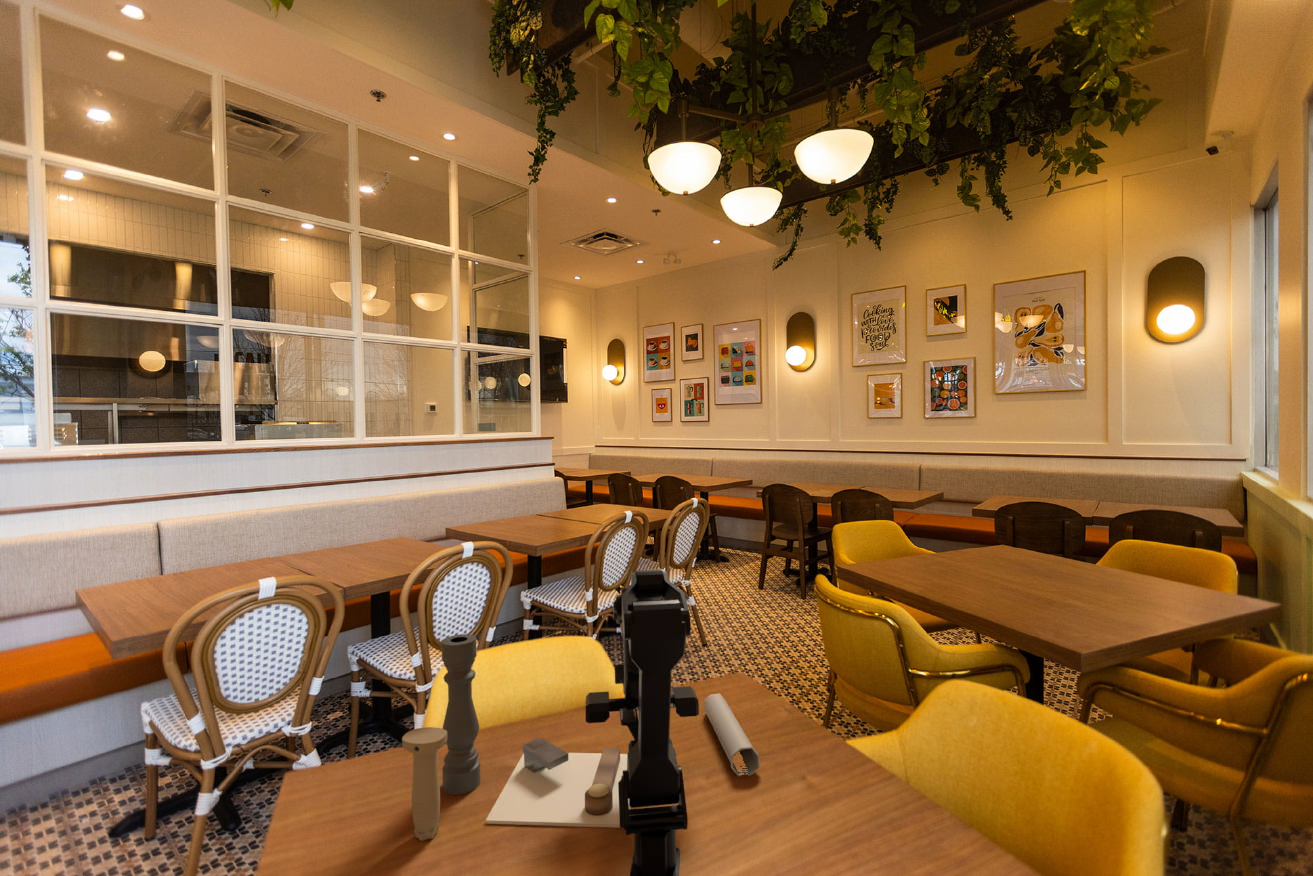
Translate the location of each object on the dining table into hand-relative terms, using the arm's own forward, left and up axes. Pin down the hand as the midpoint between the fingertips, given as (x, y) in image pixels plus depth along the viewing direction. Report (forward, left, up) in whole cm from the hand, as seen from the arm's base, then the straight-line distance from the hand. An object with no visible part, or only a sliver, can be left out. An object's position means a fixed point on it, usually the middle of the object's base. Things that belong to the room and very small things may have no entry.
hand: (642, 754), depth 99 cm
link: (0, +6, -5) cm, 8 cm away
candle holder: (0, +32, -6) cm, 32 cm away
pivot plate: (0, +12, -6) cm, 14 cm away
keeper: (+4, +18, -5) cm, 19 cm away
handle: (-13, +32, -6) cm, 35 cm away
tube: (+17, -15, -6) cm, 24 cm away
